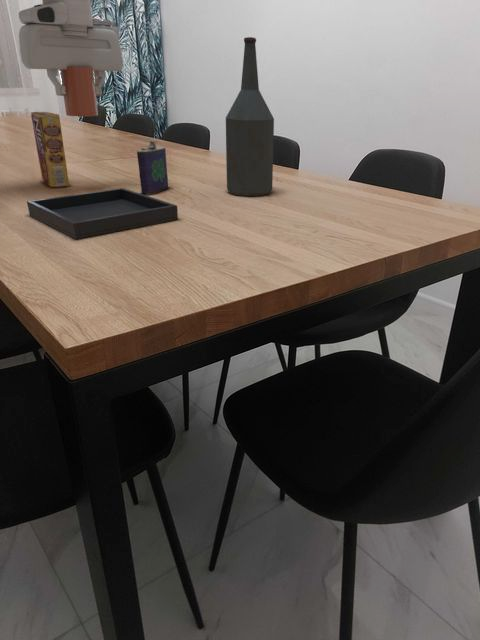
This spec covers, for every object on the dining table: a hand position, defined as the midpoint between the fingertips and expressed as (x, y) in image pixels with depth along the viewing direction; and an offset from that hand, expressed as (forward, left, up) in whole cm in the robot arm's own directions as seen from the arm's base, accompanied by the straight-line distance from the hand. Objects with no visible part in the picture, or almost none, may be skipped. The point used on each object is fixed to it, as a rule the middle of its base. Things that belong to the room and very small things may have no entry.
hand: (79, 95), depth 104 cm
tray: (-10, -24, -19) cm, 32 cm away
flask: (+10, -10, -19) cm, 24 cm away
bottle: (+26, -24, -19) cm, 40 cm away
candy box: (-4, +11, -19) cm, 23 cm away
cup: (0, 0, -4) cm, 4 cm away
